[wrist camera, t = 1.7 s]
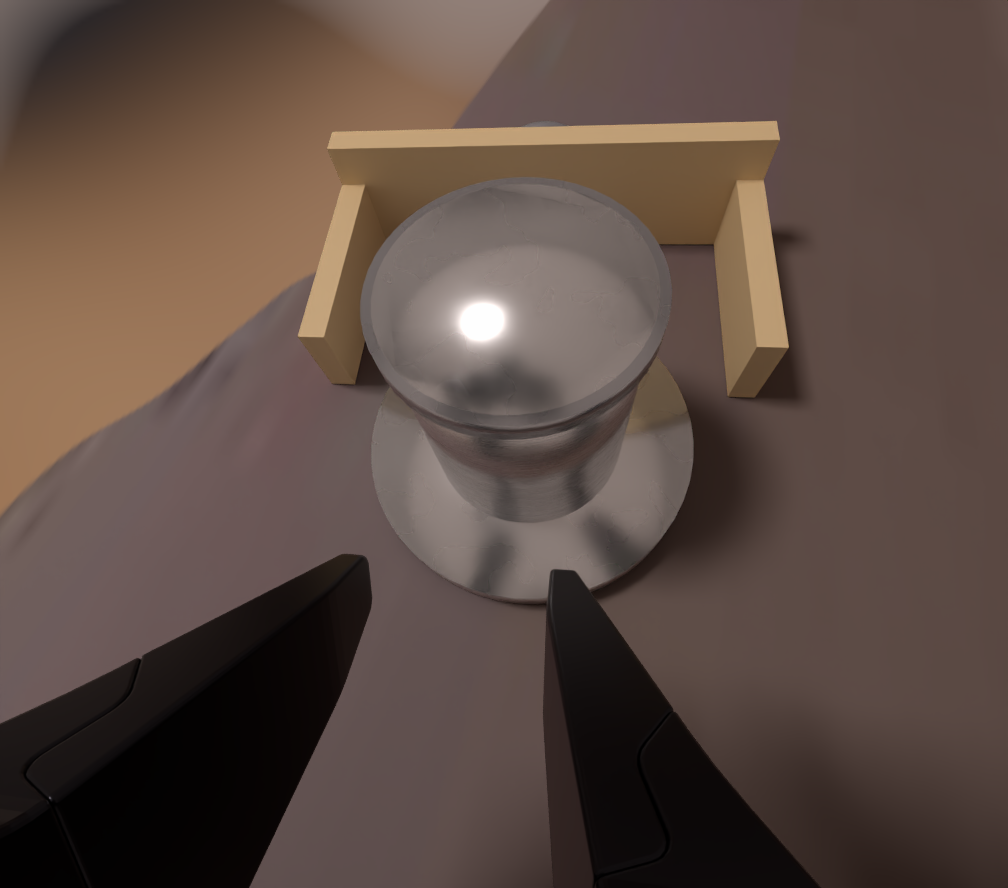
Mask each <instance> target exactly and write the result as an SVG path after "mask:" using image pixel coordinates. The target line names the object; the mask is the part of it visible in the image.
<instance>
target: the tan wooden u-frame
mask: <svg viewBox="0 0 1008 888" xmlns="http://www.w3.org/2000/svg"><path fill="white" fill-rule="evenodd" d="M779 141H780V138H779V132H778V127H777V121H764V122H723V123H682V124H640V125H599V126H567V125H565V124H562V123H559V122H553V121H539V122H534V123H530V124H527V125H524V126H522V127H516V128H475V129H435V130H434V129H433V130H394V131H354V132H353V131H352V132H333V133H332V135H331V139H330V142H329V145H328V148H327V150H328V152H329V155H330V157H331V159H332V162H333V164H334V166H335V169H336V171H337V173H338V176H339V178H340V180H341V183H342V188H341V191H340V195H339V198H338V201H337V205H336V208H335V212H334V215H333V219H332V222H331V225H330V229H329V232H328V235H327V239H326V242H325V246H324V249H323V252H322V256H321V259H320V263H319V266H318V269H317V273H316V276H315V279H314V283H313V286H312V290H311V293H310V296H309V300H308V303H307V307H306V310H305V313H304V317H303V320H302V324H301V327H300V330H299V334H298V338H299V339H300V341H301V342H302V343H303V345H304V346H305V347H306V349H307V350H308V351H309V353H310V354H311V355H312V357H313V358H314V360H315V361H316V362H317V364H318V365H319V366H320V368H321V369H322V370H323V372H324V373H325V375H326V376H327V377H328V379H329V380H330V381H331V383H332V384H355V382H356V378H357V374H358V369H359V365H360V361H361V356H362V352H363V348H364V343H365V338H364V335H363V332H362V325H361V319H360V300H361V294H362V288H363V284H364V281H365V278H366V275H367V271H368V269H369V267H370V265H371V263H372V261H373V259H374V257H375V255H376V253H377V252H378V250H379V249H380V247H381V246H382V244H383V243H384V242H385V240H386V239H387V238H388V237H389V236H390V235H391V233H392V232H393V231H394V230H395V229H396V228H397V227H398V226H399V225H400V224H401V223H403V222H404V221H405V220H406V219H407V218H408V217H409V216H411V215H412V214H413V213H415V212H416V211H418V210H419V209H420V208H422V207H423V206H425V205H427V204H428V203H430V202H432V201H434V200H435V199H437V198H439V197H441V196H444V195H446V194H448V193H450V192H452V191H455V190H458V189H461V188H463V187H466V186H469V185H473V184H477V183H481V182H485V181H490V180H496V179H503V178H515V177H538V178H548V179H556V180H562V181H566V182H571V183H575V184H578V185H581V186H584V187H587V188H590V189H593V190H595V191H597V192H600V193H602V194H604V195H606V196H608V197H610V198H612V199H613V200H615V201H616V202H618V203H620V204H621V205H623V206H624V207H626V208H627V209H628V210H629V211H630V212H632V213H633V214H634V215H635V216H637V217H638V218H639V219H640V221H641V222H642V223H643V224H644V225H645V226H646V227H647V228H648V229H649V231H650V232H651V233H652V235H653V236H654V238H655V239H656V240H657V242H658V244H714V253H715V264H716V275H717V286H718V296H719V307H720V318H721V329H722V340H723V351H724V362H725V373H726V383H727V394H728V397H753V398H755V397H756V395H757V394H758V392H759V391H760V389H761V388H762V386H763V385H764V383H765V382H766V380H767V379H768V378H769V376H770V375H771V373H772V372H773V370H774V369H775V367H776V366H777V364H778V363H779V361H780V360H781V358H782V357H783V356H784V354H785V353H786V351H787V350H788V348H789V345H788V338H787V332H786V325H785V319H784V312H783V305H782V299H781V292H780V286H779V279H778V272H777V266H776V259H775V252H774V246H773V239H772V233H771V226H770V219H769V213H768V206H767V200H766V193H765V186H764V177H765V175H766V172H767V170H768V167H769V165H770V163H771V160H772V158H773V155H774V153H775V150H776V148H777V145H778V143H779Z"/></svg>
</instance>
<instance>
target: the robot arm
mask: <svg viewBox="0 0 1008 888" xmlns="http://www.w3.org/2000/svg"><path fill="white" fill-rule="evenodd" d="M371 604H372V591H371V582H370V572H369V564H368V560H367V558H366V557H365V556H363V555H354V554H341V555H339V556H337V557H335V558H333V559H331V560H329V561H327V562H325V563H323V564H321V565H319V566H317V567H315V568H313V569H311V570H309V571H307V572H306V573H304V574H302V575H300V576H298V577H296V578H294V579H292V580H290V581H288V582H286V583H284V584H282V585H280V586H278V587H276V588H274V589H272V590H270V591H268V592H266V593H264V594H262V595H260V596H258V597H256V598H254V599H252V600H250V601H248V602H247V603H245V604H243V605H241V606H239V607H237V608H235V609H233V610H231V611H229V612H227V613H225V614H223V615H221V616H219V617H217V618H215V619H213V620H211V621H209V622H207V623H205V624H203V625H201V626H199V627H197V628H195V629H193V630H191V631H190V632H188V633H186V634H184V635H182V636H180V637H178V638H176V639H174V640H172V641H170V642H168V643H166V644H164V645H162V646H160V647H158V648H156V649H154V650H152V651H150V652H148V653H146V654H144V655H143V656H142V658H141V659H139V658H136V659H134V660H132V661H130V662H128V663H126V664H124V665H122V666H121V667H119V668H117V669H115V670H113V671H111V672H109V673H107V674H105V675H103V676H101V677H99V678H97V679H95V680H93V681H90V682H88V683H86V684H84V685H82V686H80V687H78V688H76V689H74V690H72V691H70V692H68V693H66V694H64V695H62V696H60V697H57V698H55V699H53V700H51V701H49V702H46V703H44V704H42V705H40V706H38V707H36V708H33V709H31V710H29V711H27V712H25V713H22V714H20V715H18V716H16V717H14V718H11V719H9V720H7V721H5V722H3V723H0V888H249V887H250V885H251V883H252V881H253V878H254V876H255V874H256V872H257V870H258V868H259V866H260V864H261V862H262V859H263V857H264V855H265V853H266V851H267V849H268V847H269V845H270V843H271V841H272V838H273V836H274V834H275V832H276V830H277V828H278V826H279V824H280V822H281V820H282V817H283V815H284V813H285V811H286V809H287V807H288V805H289V803H290V801H291V798H292V796H293V794H294V792H295V790H296V788H297V786H298V784H299V782H300V780H301V777H302V775H303V773H304V771H305V769H306V767H307V765H308V763H309V761H310V759H311V756H312V754H313V752H314V750H315V748H316V746H317V744H318V742H319V740H320V737H321V735H322V733H323V731H324V729H325V727H326V725H327V723H328V721H329V719H330V716H331V714H332V712H333V710H334V708H335V706H336V704H337V701H338V699H339V697H340V695H341V692H342V690H343V687H344V684H345V682H346V679H347V676H348V673H349V671H350V668H351V665H352V662H353V659H354V656H355V653H356V650H357V647H358V645H359V642H360V639H361V636H362V633H363V630H364V627H365V624H366V622H367V619H368V616H369V613H370V610H371ZM543 726H544V743H545V759H546V775H547V791H548V807H549V823H550V839H551V855H552V871H553V887H554V888H821V887H820V886H819V885H818V884H817V883H816V881H815V880H814V879H813V878H812V877H811V876H810V875H809V874H808V872H807V871H806V870H805V869H804V868H803V867H802V866H801V864H800V863H799V862H798V861H797V860H796V859H795V858H794V857H793V855H792V854H791V853H790V852H789V851H788V850H787V849H786V847H785V846H784V845H783V844H782V843H781V842H780V841H779V839H778V838H777V837H776V836H775V835H774V834H773V833H772V832H771V830H770V829H769V828H768V827H767V826H766V825H765V824H764V822H763V821H762V820H761V819H760V818H759V817H758V816H757V814H756V813H755V812H754V811H753V810H752V809H751V808H750V807H749V805H748V804H747V803H746V802H745V801H744V799H743V798H742V797H741V796H740V795H739V793H738V792H737V791H736V790H735V789H734V788H733V786H732V785H731V784H730V783H729V782H728V780H727V779H726V778H725V777H724V776H723V774H722V773H721V772H720V771H719V770H718V768H717V767H716V766H715V765H714V763H713V762H712V761H711V759H710V758H709V757H708V755H707V754H706V753H705V751H704V750H703V749H702V747H701V746H700V745H699V743H698V742H697V741H696V739H695V738H694V737H693V735H692V734H691V733H690V731H689V730H688V729H687V727H686V726H685V724H684V723H683V721H682V720H681V719H680V717H679V716H678V714H677V713H676V712H673V708H672V706H671V705H670V703H669V702H668V701H667V699H666V698H665V696H664V695H663V693H662V692H661V691H660V689H659V688H658V686H657V685H656V684H655V682H654V681H653V679H652V678H651V676H650V675H649V674H648V672H647V671H646V669H645V668H644V667H643V665H642V664H641V662H640V661H639V660H638V658H637V657H636V655H635V654H634V652H633V651H632V650H631V648H630V647H629V645H628V644H627V643H626V641H625V640H624V638H623V637H622V635H621V634H620V633H619V631H618V630H617V628H616V627H615V626H614V624H613V623H612V621H611V620H610V619H609V617H608V616H607V614H606V613H605V611H604V610H603V609H602V607H601V606H600V604H599V603H598V602H597V600H596V599H595V597H594V596H593V595H592V593H591V592H590V590H589V589H588V587H587V586H586V585H585V583H584V582H583V580H582V579H581V578H580V576H579V575H578V573H577V572H576V571H574V570H563V569H553V570H551V571H550V576H549V587H548V597H547V609H546V638H545V667H544V696H543Z"/></svg>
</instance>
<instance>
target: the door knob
mask: <svg viewBox="0 0 1008 888" xmlns="http://www.w3.org/2000/svg"><path fill="white" fill-rule="evenodd" d="M671 301H672V285H671V278H670V272H669V268H668V265H667V262H666V259H665V256H664V254H663V252H662V250H661V248H660V246H659V244H658V242H657V240H656V239H655V238H654V236H653V235H652V233H651V232H650V231H649V229H648V228H647V227H646V226H645V225H644V224H643V223H642V222H641V221H640V219H639V218H638V217H637V216H635V215H634V214H633V213H632V212H630V211H629V210H628V209H627V208H626V207H624V206H623V205H621V204H620V203H618V202H616V201H615V200H613V199H612V198H610V197H608V196H606V195H604V194H602V193H600V192H597V191H595V190H593V189H590V188H587V187H584V186H581V185H578V184H575V183H571V182H566V181H562V180H556V179H548V178H538V177H515V178H503V179H496V180H490V181H485V182H481V183H477V184H473V185H469V186H466V187H463V188H461V189H458V190H455V191H452V192H450V193H448V194H446V195H444V196H441V197H439V198H437V199H435V200H434V201H432V202H430V203H428V204H427V205H425V206H423V207H422V208H420V209H419V210H418V211H416V212H415V213H413V214H412V215H411V216H409V217H408V218H407V219H406V220H405V221H404V222H403V223H401V224H400V225H399V226H398V227H397V228H396V229H395V230H394V231H393V232H392V233H391V235H390V236H389V237H388V238H387V239H386V240H385V242H384V243H383V244H382V246H381V247H380V249H379V250H378V252H377V253H376V255H375V257H374V259H373V261H372V263H371V265H370V267H369V269H368V271H367V275H366V278H365V281H364V284H363V288H362V294H361V300H360V319H361V325H362V332H363V335H364V338H365V341H366V344H367V347H368V350H369V352H370V354H371V355H372V357H373V359H374V361H375V363H376V365H377V367H378V368H379V370H380V372H381V374H382V376H383V377H384V379H385V381H386V382H387V383H388V385H389V386H390V387H389V389H388V390H387V392H386V394H385V396H384V399H383V401H382V403H381V406H380V408H379V411H378V414H377V418H376V421H375V425H374V430H373V437H372V444H371V466H372V473H373V479H374V485H375V488H376V492H377V495H378V498H379V502H380V504H381V506H382V508H383V511H384V513H385V515H386V517H387V519H388V521H389V523H390V524H391V526H392V527H393V529H394V530H395V532H396V533H397V535H398V536H399V538H400V539H401V540H402V541H403V542H404V543H405V545H406V546H407V547H408V548H409V549H410V550H411V551H412V552H413V554H415V555H416V556H417V557H418V558H419V559H420V560H421V561H422V562H423V563H424V564H425V565H427V566H428V567H429V568H430V569H431V570H433V571H434V572H435V573H436V574H437V575H439V576H441V577H442V578H444V579H445V580H447V581H449V582H450V583H452V584H453V585H455V586H457V587H459V588H462V589H464V590H466V591H468V592H471V593H473V594H475V595H479V596H482V597H486V598H489V599H492V600H496V601H503V602H509V603H516V604H544V603H547V597H548V587H549V576H550V571H551V570H553V569H563V570H574V571H576V572H577V573H578V575H579V576H580V578H581V579H582V580H583V582H584V583H585V585H586V586H587V587H588V589H589V590H590V592H594V591H596V590H599V589H601V588H603V587H605V586H607V585H609V584H611V583H612V582H614V581H616V580H617V579H619V578H621V577H622V576H624V575H625V574H627V573H628V572H629V571H630V570H632V569H633V568H634V567H635V566H637V565H638V564H639V563H640V562H641V561H642V560H643V559H644V558H645V557H646V556H647V555H648V554H649V553H650V552H651V551H652V550H653V549H654V548H655V546H656V545H657V544H658V542H659V541H660V539H661V538H662V536H663V535H664V534H665V532H666V531H667V529H668V528H669V526H670V525H671V524H672V522H673V521H674V519H675V517H676V515H677V513H678V511H679V509H680V507H681V505H682V503H683V501H684V498H685V495H686V492H687V489H688V486H689V483H690V478H691V472H692V466H693V444H694V441H693V433H692V426H691V420H690V417H689V413H688V410H687V406H686V403H685V401H684V399H683V396H682V394H681V392H680V390H679V387H678V385H677V384H676V382H675V381H674V379H673V377H672V376H671V374H670V373H669V371H668V369H667V368H666V367H665V366H664V365H663V363H662V362H661V361H660V360H659V359H658V357H657V353H658V351H659V348H660V345H661V343H662V340H663V337H664V333H665V330H666V327H667V324H668V319H669V314H670V310H671Z"/></svg>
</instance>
